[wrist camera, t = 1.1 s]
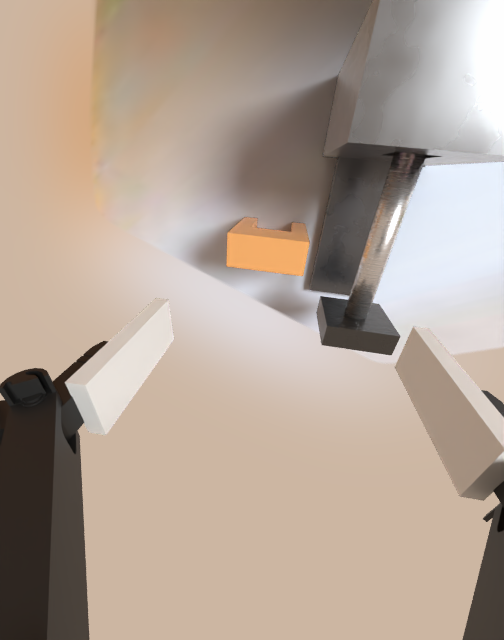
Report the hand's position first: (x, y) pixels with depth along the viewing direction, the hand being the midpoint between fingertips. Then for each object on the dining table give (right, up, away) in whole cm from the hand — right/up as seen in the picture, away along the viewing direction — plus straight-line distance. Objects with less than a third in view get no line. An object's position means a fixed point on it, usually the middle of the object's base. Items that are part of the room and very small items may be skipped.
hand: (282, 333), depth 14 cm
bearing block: (+10, +13, +13) cm, 21 cm away
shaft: (+9, +7, +9) cm, 15 cm away
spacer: (+1, +11, +16) cm, 19 cm away
